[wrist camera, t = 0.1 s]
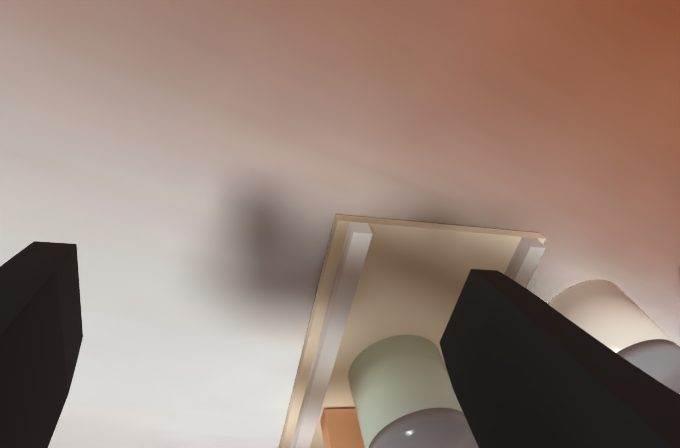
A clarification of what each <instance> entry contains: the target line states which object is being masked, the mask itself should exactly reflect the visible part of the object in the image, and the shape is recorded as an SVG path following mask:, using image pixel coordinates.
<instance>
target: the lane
mask: <svg viewBox="0 0 680 448" xmlns="http://www.w3.org/2000/svg"><path fill="white" fill-rule="evenodd" d="M545 240H546V238H545V237H544V236H543V235H542V234H541V233H535V232H524V231H513V230H502V229H491V228H481V227H470V226H459V225H448V224H437V223H426V222H415V221H404V220H393V219H382V218H371V217H360V216H349V215H338V214H336V215H335V219H334V223H333V227H332V231H331V235H330V239H329V244H328V248H327V252H326V256H325V260H324V264H323V268H322V272H321V276H320V280H319V285H318V289H317V293H316V297H315V301H314V305H313V309H312V313H311V317H310V321H309V326H308V330H307V334H306V338H305V342H304V346H303V350H302V354H301V358H300V362H299V367H298V371H297V375H296V379H295V383H294V387H293V391H292V395H291V399H290V403H289V408H288V412H287V416H286V420H285V424H284V428H283V432H282V436H281V440H280V444H279V448H325V446H324V441H323V435H322V429H321V424H320V420H321V417H322V414H323V410H324V409H355V406H354V402H353V398H352V394H351V390H350V386H349V382H348V372H349V369H350V366H351V364H352V363H353V361H354V360H355V358H356V357H357V356H358V355H359V354H360V353H361V352H362V351H363V350H364V349H366V348H367V347H369V346H370V345H372V344H374V343H375V342H377V341H380V340H382V339H385V338H388V337H392V336H397V335H416V336H421V337H424V338H426V339H428V340H430V341H431V342H433V343H434V344H435V345H436V347H437V348H438V350H439V352H440V354H441V356H442V358H443V354H442V350H441V347H440V343H439V342H440V340H441V338H442V335H443V333H444V331H445V328H446V326H447V324H448V321H449V319H450V317H451V314H452V312H453V310H454V307H455V305H456V303H457V300H458V298H459V296H460V293H461V291H462V289H463V286H464V284H465V282H466V279H467V277H468V275H469V272H470V270H471V269H482V270H498V271H499V272H501V273H503V274H504V275H506V276H508V277H509V278H511V279H512V280H514V281H516V282H517V283H519V284H520V285H522V286H523V287H524V288H526V286H527V284H528V282H529V280H530V278H531V276H532V274H533V273H534V271H535V269H536V267H537V265H538V263H539V261H540V259H541V257H542V255H543V253H544V251H545V249H546V247H545V246H544V245H543V244H544V242H545ZM443 360H444V358H443Z"/></svg>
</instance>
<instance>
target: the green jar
mask: <svg viewBox="0 0 680 448" xmlns="http://www.w3.org/2000/svg"><path fill="white" fill-rule="evenodd" d="M348 382H349V386H350V390H351V394H352V398H353V402H354V406H355V410H356V414H357V418H358V422H359V426H360V430H361V434H362V438H363V442H364V446H365V448H479V447H478V445H477V443H476V440H475V438H474V436H473V434H472V432H471V429H470V427H469V425H468V423H467V420H466V418H465V416H464V414H463V411H462V409H461V407H460V404H459V402H458V400H457V397H456V395H455V393H454V390H453V388H452V385H451V381H450V378H449V375H448V372H447V369H446V365H445V362H444V360H443V358H442V356H441V354H440V352H439V350H438V348H437V347H436V345H435V344H434V343H433V342H431V341H430V340H428V339H426V338H424V337H421V336H416V335H397V336H392V337H388V338H385V339H382V340H380V341H377V342H375V343H374V344H372V345H370V346H369V347H367V348H366V349H364V350H363V351H362V352H361V353H360V354H359V355H358V356H357V357H356V358H355V360H354V361H353V363H352V364H351V366H350V369H349V372H348Z"/></svg>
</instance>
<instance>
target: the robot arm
mask: <svg viewBox="0 0 680 448" xmlns="http://www.w3.org/2000/svg"><path fill="white" fill-rule="evenodd" d="M82 338H83V333H82V319H81V304H80V290H79V276H78V261H77V247H76V244H66V243H50V242H33V243H32V244H30V245H29V246H27V247H26V248H25V249H23V250H22V251H21V252H19V253H18V254H16V255H15V256H14V257H12V258H11V259H10V260H8V261H7V262H6V263H4V264H3V265H2V266H1V267H0V448H48V445H49V443H50V440H51V438H52V435H53V432H54V430H55V427H56V425H57V422H58V419H59V417H60V414H61V412H62V409H63V406H64V404H65V401H66V398H67V396H68V393H69V389H70V386H71V382H72V378H73V374H74V370H75V366H76V362H77V358H78V354H79V350H80V346H81V342H82ZM439 343H440V347H441V350H442V354H443V358H444V362H445V365H446V369H447V372H448V375H449V378H450V381H451V385H452V388H453V390H454V393H455V395H456V397H457V400H458V402H459V404H460V407H461V409H462V411H463V414H464V416H465V418H466V420H467V423H468V425H469V427H470V429H471V432H472V434H473V436H474V438H475V440H476V443H477V445H478V447H479V448H680V394H678V393H676V392H675V391H673V390H672V389H670V388H668V387H667V386H665V385H664V384H662V383H660V382H659V381H657V380H656V379H654V378H653V377H651V376H650V375H648V374H647V373H645V372H644V371H642V370H641V369H639V368H638V367H636V366H635V365H633V364H632V363H630V362H629V361H627V360H626V359H624V358H623V357H621V356H620V355H618V354H617V353H616V352H614V351H613V350H611V349H610V348H608V347H607V346H605V345H604V344H603V343H601V342H600V341H598V340H597V339H596V338H594V337H593V336H591V335H590V334H588V333H587V332H586V331H584V330H583V329H582V328H580V327H579V326H577V325H576V324H575V323H573V322H572V321H570V320H569V319H568V318H566V317H565V316H564V315H562V314H561V313H559V312H558V311H557V310H555V309H554V308H553V307H551V306H550V305H548V304H547V303H546V302H544V301H543V300H541V299H540V298H539V297H537V296H536V295H534V294H533V293H532V292H530V291H529V290H527V289H526V288H524V287H523V286H522V285H520V284H519V283H517V282H516V281H514V280H512V279H511V278H509V277H508V276H506V275H504V274H503V273H501V272H499V271H498V270H482V269H471V270H470V272H469V275H468V277H467V279H466V282H465V284H464V286H463V289H462V291H461V293H460V296H459V298H458V300H457V303H456V305H455V307H454V310H453V312H452V314H451V317H450V319H449V321H448V324H447V326H446V328H445V331H444V333H443V335H442V338H441V340H440V342H439Z"/></svg>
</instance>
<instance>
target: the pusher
mask: <svg viewBox="0 0 680 448" xmlns="http://www.w3.org/2000/svg"><path fill="white" fill-rule="evenodd" d="M320 424H321V429H322V435H323V441H324V446H325V448H365V446H364V442H363V438H362V434H361V430H360V426H359V422H358V418H357V414H356V410H355V409H324V410H323V414H322V417H321V420H320Z"/></svg>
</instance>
